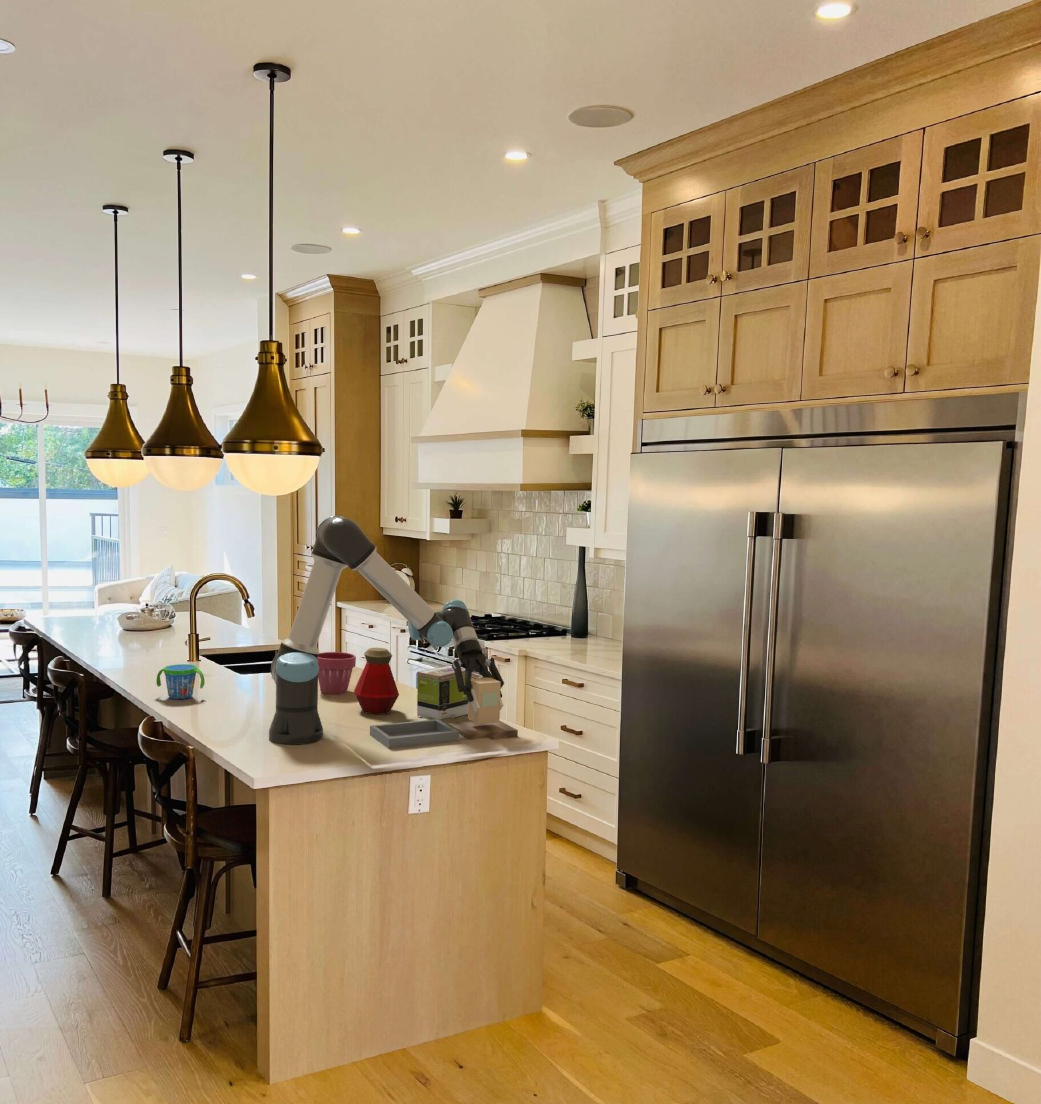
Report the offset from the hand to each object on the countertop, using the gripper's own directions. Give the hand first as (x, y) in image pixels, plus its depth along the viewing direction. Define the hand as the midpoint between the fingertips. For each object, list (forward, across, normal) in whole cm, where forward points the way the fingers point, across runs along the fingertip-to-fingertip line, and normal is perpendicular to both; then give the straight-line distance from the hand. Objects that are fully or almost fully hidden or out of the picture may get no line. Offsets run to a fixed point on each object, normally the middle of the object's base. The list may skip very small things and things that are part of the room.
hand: (489, 708), depth 284 cm
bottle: (-23, +20, -34) cm, 46 cm away
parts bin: (+3, +22, -8) cm, 24 cm away
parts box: (0, 0, -5) cm, 5 cm away
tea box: (-13, +2, -25) cm, 29 cm away
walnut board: (+3, 0, -8) cm, 9 cm away
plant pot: (-45, +24, -56) cm, 76 cm away
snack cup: (-51, +74, -62) cm, 109 cm away
